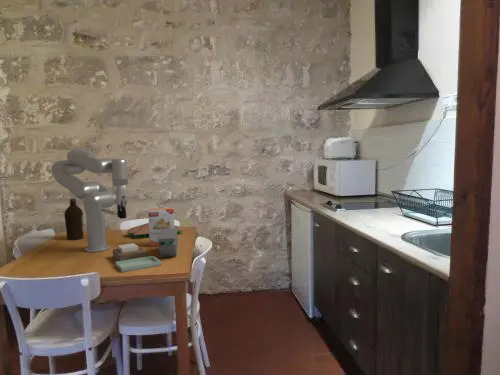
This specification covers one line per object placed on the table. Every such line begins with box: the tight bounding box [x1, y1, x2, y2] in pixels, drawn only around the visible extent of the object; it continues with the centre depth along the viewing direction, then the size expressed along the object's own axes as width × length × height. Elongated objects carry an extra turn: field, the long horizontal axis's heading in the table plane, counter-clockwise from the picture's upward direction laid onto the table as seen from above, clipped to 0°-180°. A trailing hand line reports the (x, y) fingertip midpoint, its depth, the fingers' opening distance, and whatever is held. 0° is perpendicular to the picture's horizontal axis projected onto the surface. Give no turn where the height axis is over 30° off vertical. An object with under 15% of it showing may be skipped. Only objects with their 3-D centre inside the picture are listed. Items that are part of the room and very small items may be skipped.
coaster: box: [117, 242, 139, 253], centre depth 199 cm, size 8×8×2 cm
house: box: [126, 222, 184, 240], centre depth 256 cm, size 23×33×8 cm
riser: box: [112, 245, 149, 262], centre depth 197 cm, size 16×13×4 cm
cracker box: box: [148, 207, 175, 248], centre depth 224 cm, size 14×6×21 cm, turn 102°
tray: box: [114, 255, 162, 273], centre depth 185 cm, size 12×18×2 cm, turn 122°
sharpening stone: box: [158, 228, 179, 258], centre depth 205 cm, size 25×8×11 cm, turn 7°
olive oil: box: [63, 198, 84, 241], centre depth 246 cm, size 11×11×25 cm
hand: (121, 217), depth 206 cm, fingers open, 3 cm apart
